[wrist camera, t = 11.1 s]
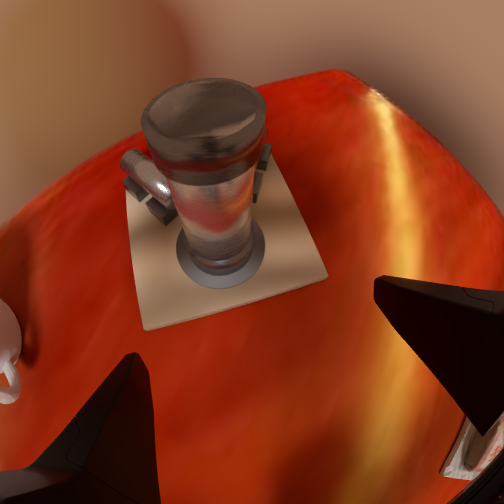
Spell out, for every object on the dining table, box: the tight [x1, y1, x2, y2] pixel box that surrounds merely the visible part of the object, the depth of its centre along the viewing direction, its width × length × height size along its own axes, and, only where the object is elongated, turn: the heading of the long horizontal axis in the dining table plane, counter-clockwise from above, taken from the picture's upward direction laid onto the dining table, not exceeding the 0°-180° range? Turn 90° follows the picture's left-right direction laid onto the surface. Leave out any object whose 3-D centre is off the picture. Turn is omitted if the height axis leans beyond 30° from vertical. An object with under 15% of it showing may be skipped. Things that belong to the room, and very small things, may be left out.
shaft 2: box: [252, 126, 272, 203], centre depth 23 cm, size 7×4×4 cm, turn 166°
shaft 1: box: [120, 149, 178, 226], centre depth 22 cm, size 7×4×4 cm, turn 50°
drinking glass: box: [141, 78, 266, 276], centre depth 16 cm, size 5×5×13 cm
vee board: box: [126, 154, 328, 331], centre depth 23 cm, size 15×15×1 cm
